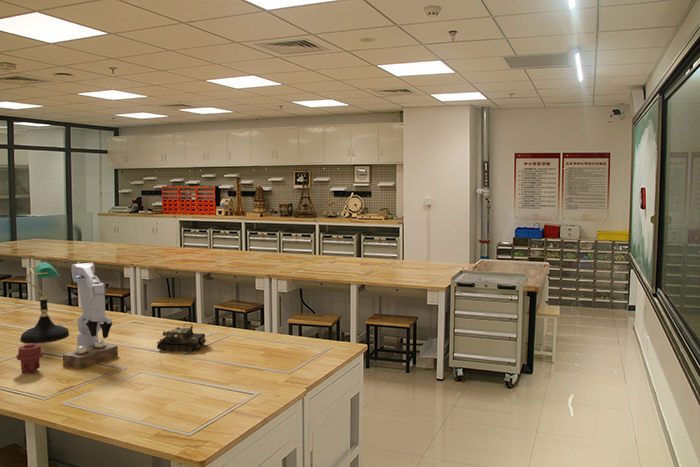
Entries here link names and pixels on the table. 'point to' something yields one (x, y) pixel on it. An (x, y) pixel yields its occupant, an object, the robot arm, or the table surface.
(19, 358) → the mechanical component
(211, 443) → the table surface
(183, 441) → the table surface
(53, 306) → the table surface
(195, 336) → the model tank
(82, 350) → the peg
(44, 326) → the banker's lamp
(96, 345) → the peg
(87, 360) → the walnut block
